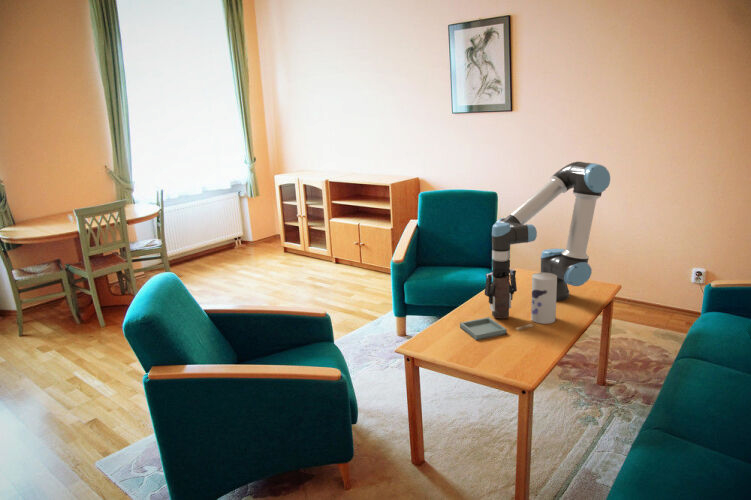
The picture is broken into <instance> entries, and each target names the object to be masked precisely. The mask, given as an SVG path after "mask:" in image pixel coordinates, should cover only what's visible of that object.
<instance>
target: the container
mask: <svg viewBox="0 0 751 500" xmlns="http://www.w3.org/2000/svg"><path fill="white" fill-rule="evenodd" d="M531 280H532V281H531V282H532V283H531V286H532V287H531V315H530V318H531V320H532V322H534V323H537V324H542V325H543V324H545V325H548V324H553V323H555V322H556V319H557V318H556V317H557V316H556V315H557V314H556V312H557V301H556V293H557V276H556V275H555V274H552V273H544V272H542V273H541V272H536V273H533V274H532V275H531Z"/></svg>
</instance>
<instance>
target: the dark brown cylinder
mask: <svg viewBox="0 0 751 500" xmlns="http://www.w3.org/2000/svg"><path fill="white" fill-rule="evenodd" d="M492 282H493V284H495V293H494V297H495V311H494V312H493V311H492V310H491V315H492V317H493V319H507V318H508V317H510V308H509V282H510V273H509V274H508V275H507V276H502V277H501V278H495V277H494V276H492Z"/></svg>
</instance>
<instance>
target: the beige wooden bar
mask: <svg viewBox="0 0 751 500" xmlns="http://www.w3.org/2000/svg"><path fill="white" fill-rule="evenodd" d="M533 327H534V324H533V323H529V324H524V325H522V326H518V327H515V328H516V331H521V330H526V329H530V328H533Z"/></svg>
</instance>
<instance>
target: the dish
mask: <svg viewBox="0 0 751 500" xmlns="http://www.w3.org/2000/svg"><path fill="white" fill-rule="evenodd" d="M459 328H460V329H461V330H462V331H463V332H465V333H466V334H467V335H469V336H470V337H471V338H473V339H474V340H475V341H480V340H485V339H489V338H495V337H500V336H504V335H507V333H508V332H507V330H508V329H507V328H506V327H504V326H503V325H501V324H499V322H497V321H495V320H494V319H493V318H491V317H489V316H487V317H483V318H477V319H473V320H472V319H471V320H466V321H463V322H459Z"/></svg>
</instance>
